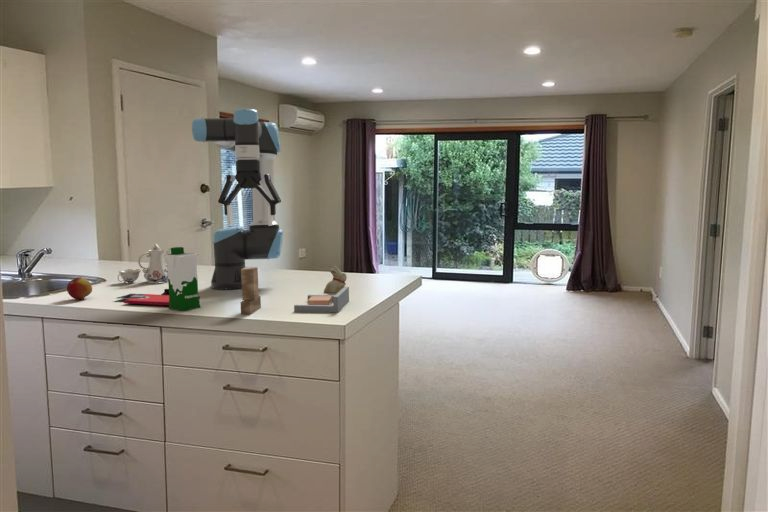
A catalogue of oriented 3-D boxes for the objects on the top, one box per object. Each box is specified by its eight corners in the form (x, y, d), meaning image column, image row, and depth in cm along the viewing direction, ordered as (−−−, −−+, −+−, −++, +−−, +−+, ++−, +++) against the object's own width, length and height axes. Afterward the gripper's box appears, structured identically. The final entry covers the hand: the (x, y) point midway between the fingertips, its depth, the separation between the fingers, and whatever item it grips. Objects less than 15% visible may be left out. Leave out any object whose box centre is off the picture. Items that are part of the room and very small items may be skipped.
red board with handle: (134, 295, 223) (105, 303, 209) (133, 287, 223) (105, 295, 209) (206, 298, 215) (181, 307, 201) (205, 290, 215) (180, 299, 201)
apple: (68, 298, 220) (66, 276, 218) (93, 296, 223) (91, 275, 222) (67, 302, 213) (65, 279, 212) (92, 300, 216) (90, 278, 215)
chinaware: (173, 278, 271) (168, 241, 270) (195, 278, 261) (191, 239, 260) (113, 288, 249) (108, 248, 248) (135, 288, 239) (130, 246, 238)
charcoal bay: (294, 311, 193) (293, 296, 192) (308, 300, 210) (308, 286, 210) (338, 312, 191) (337, 297, 190) (349, 301, 208) (348, 286, 208)
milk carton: (186, 304, 207) (183, 246, 204) (204, 307, 202) (201, 247, 199) (165, 309, 199) (161, 248, 197) (183, 312, 194) (179, 250, 192)
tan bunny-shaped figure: (343, 293, 223) (343, 266, 221) (323, 292, 224) (322, 266, 223) (347, 290, 228) (346, 264, 227) (327, 290, 230) (326, 263, 228)
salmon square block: (308, 309, 198) (307, 300, 197) (311, 304, 205) (311, 296, 204) (329, 309, 197) (329, 300, 197) (332, 304, 204) (332, 296, 204)
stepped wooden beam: (239, 314, 190) (237, 270, 188) (250, 307, 200) (248, 265, 198) (251, 314, 189) (249, 270, 187) (262, 308, 199) (260, 265, 197)
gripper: (205, 159, 191) (209, 226, 194) (282, 158, 187) (284, 226, 191) (215, 159, 198) (218, 224, 201) (289, 158, 195) (291, 224, 198)
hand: (250, 225), depth 196 cm, fingers open, 13 cm apart
